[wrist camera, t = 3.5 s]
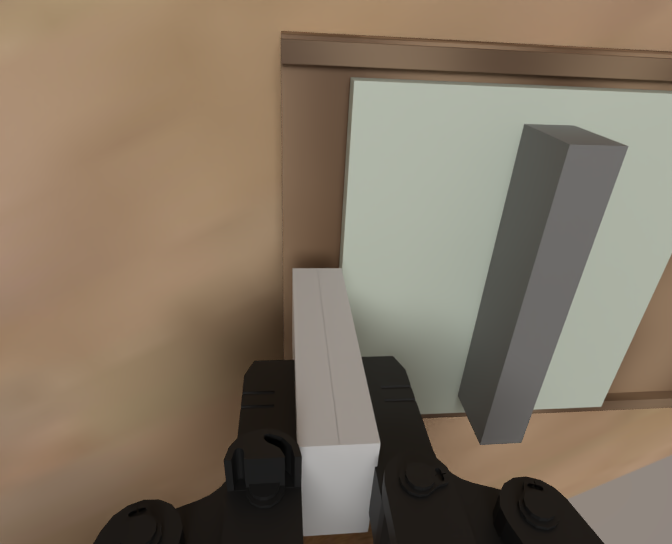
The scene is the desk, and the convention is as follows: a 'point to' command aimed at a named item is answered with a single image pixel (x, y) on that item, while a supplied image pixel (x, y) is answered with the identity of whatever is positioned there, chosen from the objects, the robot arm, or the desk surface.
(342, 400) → the robot arm
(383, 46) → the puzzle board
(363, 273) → the lid
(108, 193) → the desk surface
